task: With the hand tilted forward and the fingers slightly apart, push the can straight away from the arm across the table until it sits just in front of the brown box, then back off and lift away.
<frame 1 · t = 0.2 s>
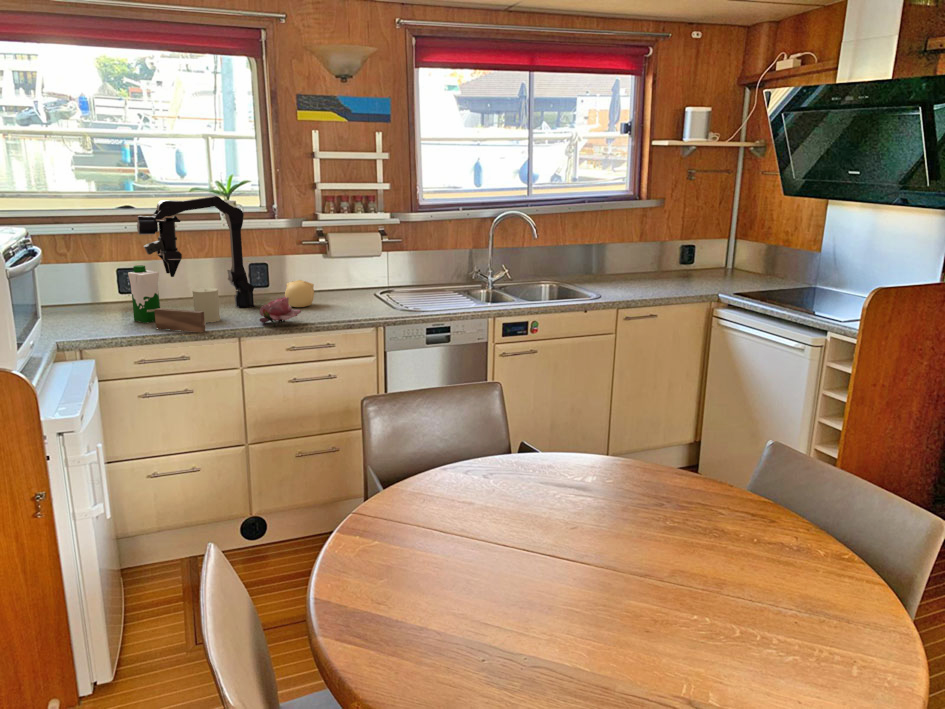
hand: (170, 275, 294), 15 cm above the table, tool pointing down, fingers open, 9 cm apart
flower: (280, 325, 281), on the table
milk carton: (148, 320, 284), on the table
can: (207, 320, 286), on the table
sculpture: (300, 306, 313), on the table
brown box: (180, 329, 270), on the table
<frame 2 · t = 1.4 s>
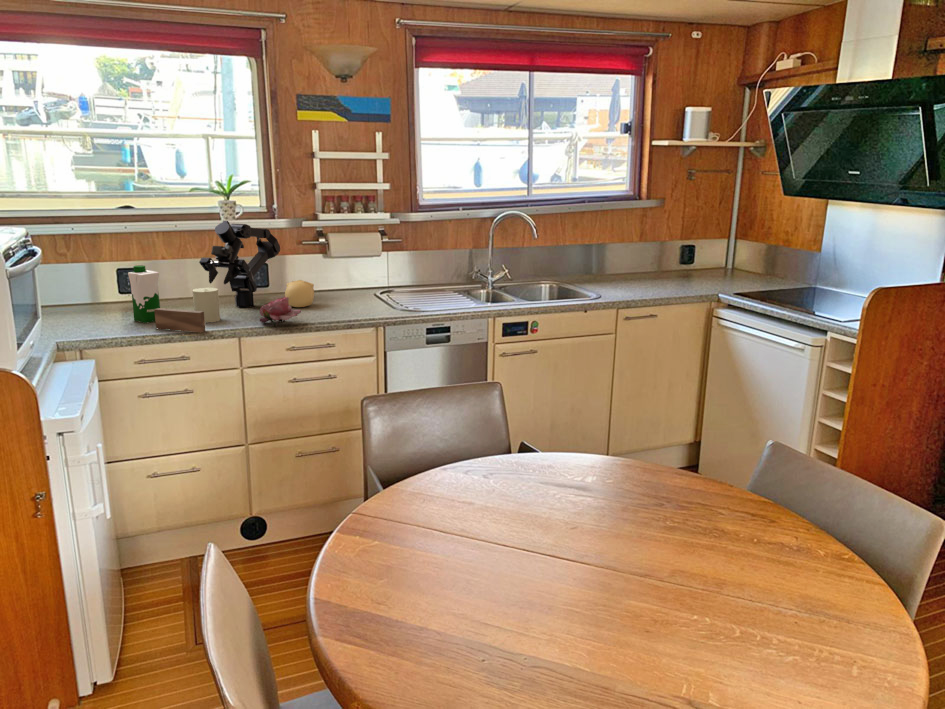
hand: (217, 283, 290), 13 cm above the table, tool tilted 45°, fingers open, 6 cm apart
nothing on the table moved.
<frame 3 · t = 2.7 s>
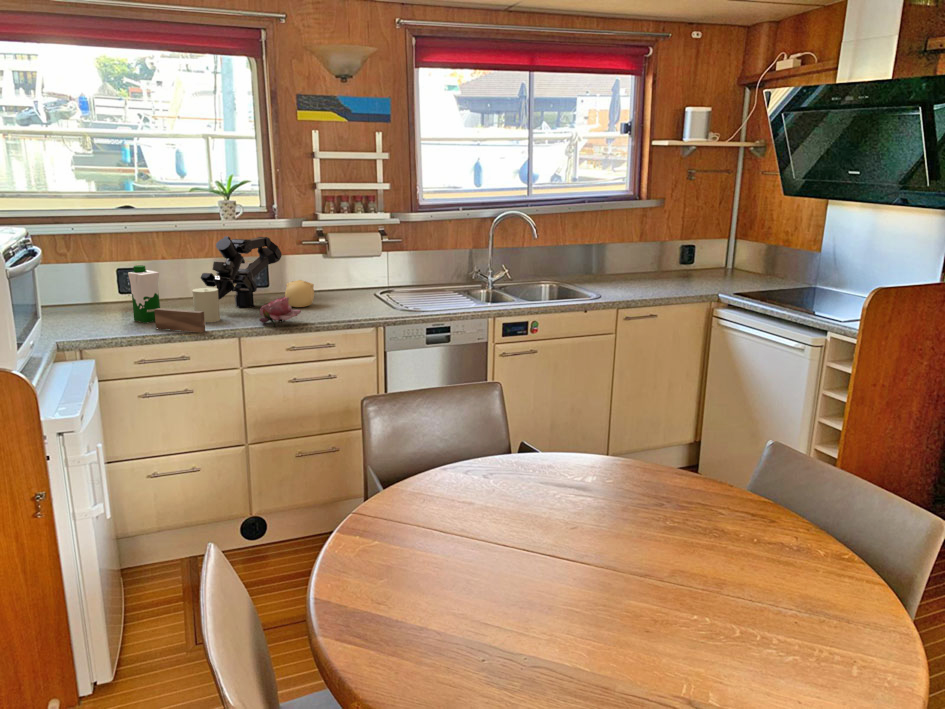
hand: (218, 298, 292), 7 cm above the table, tool tilted 45°, fingers closed
nothing on the table moved.
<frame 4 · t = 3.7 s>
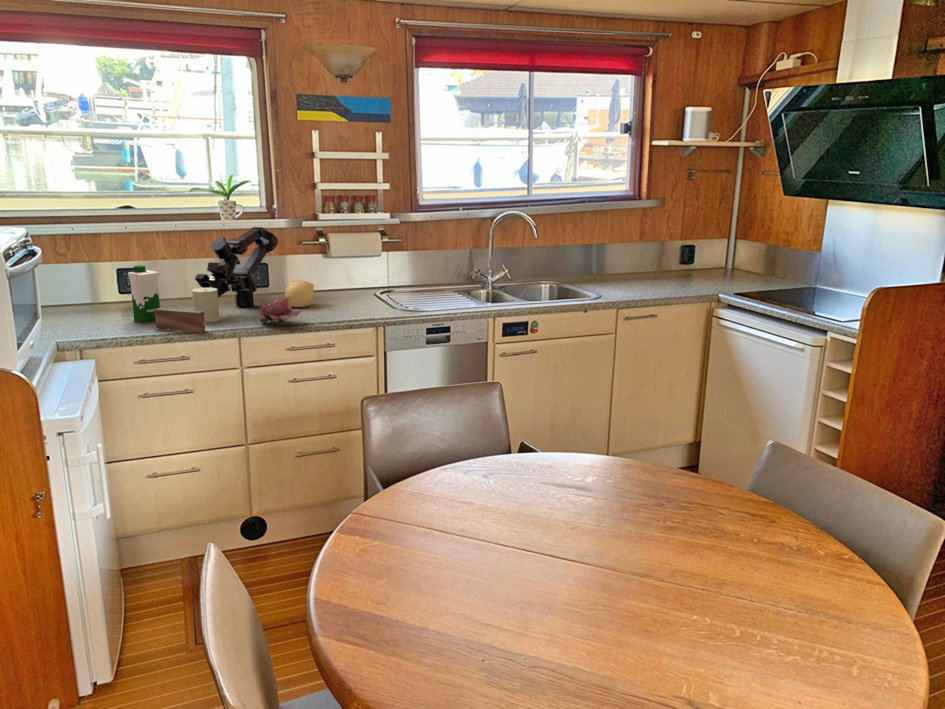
hand: (212, 299, 288), 7 cm above the table, tool tilted 45°, fingers closed, pressing on can
can: (207, 320, 286), on the table, touching gripper
everything else where it was.
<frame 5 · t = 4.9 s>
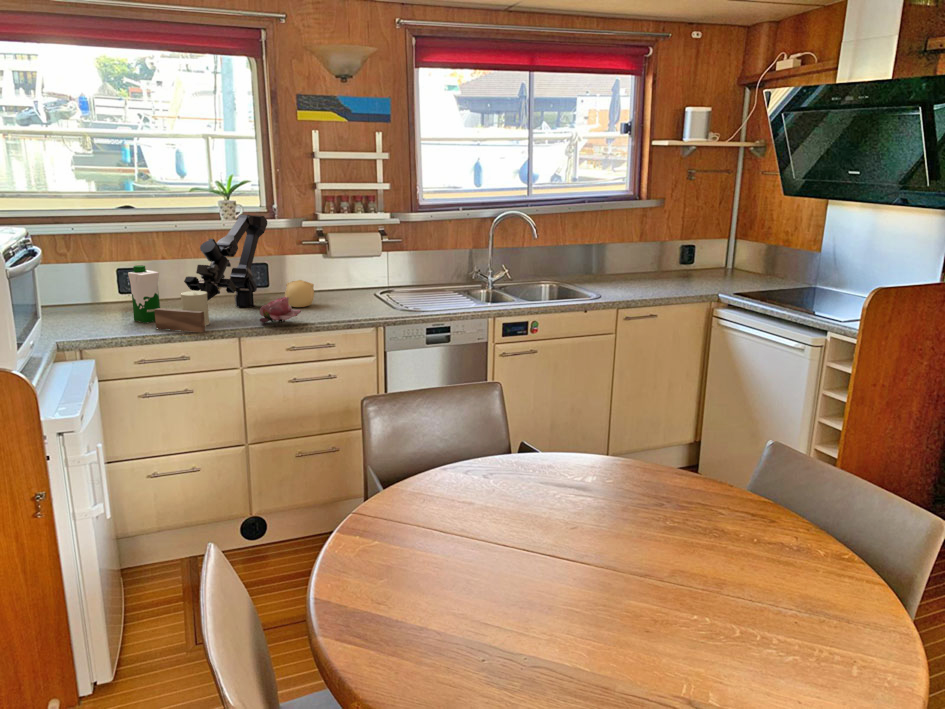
hand: (202, 303, 282), 7 cm above the table, tool tilted 45°, fingers closed, pressing on can
can: (196, 324, 279), on the table, touching gripper
everything else where it was.
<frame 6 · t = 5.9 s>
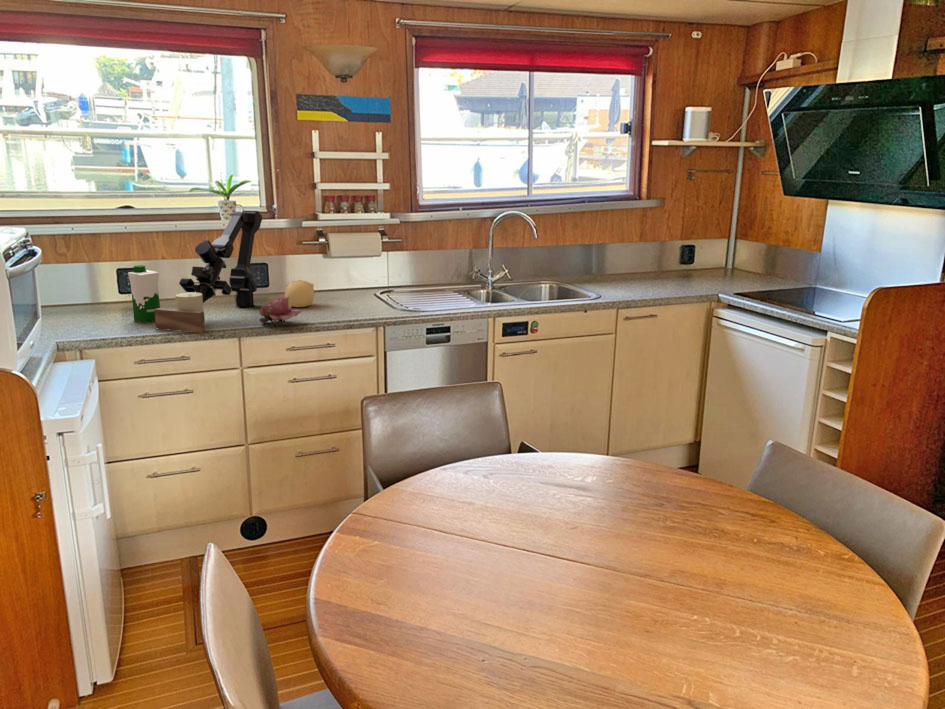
hand: (197, 305, 279), 7 cm above the table, tool tilted 45°, fingers closed, pressing on can
can: (191, 326, 277), on the table, touching gripper
everything else where it was.
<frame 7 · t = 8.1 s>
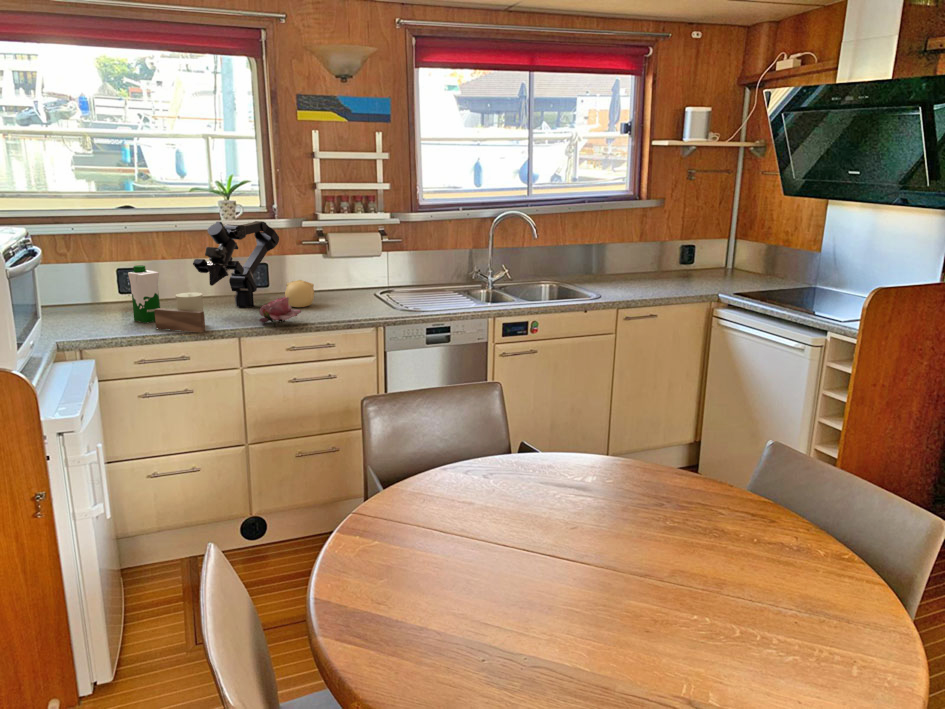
hand: (211, 284, 287), 13 cm above the table, tool tilted 45°, fingers closed
can: (191, 326, 277), on the table
everything else where it was.
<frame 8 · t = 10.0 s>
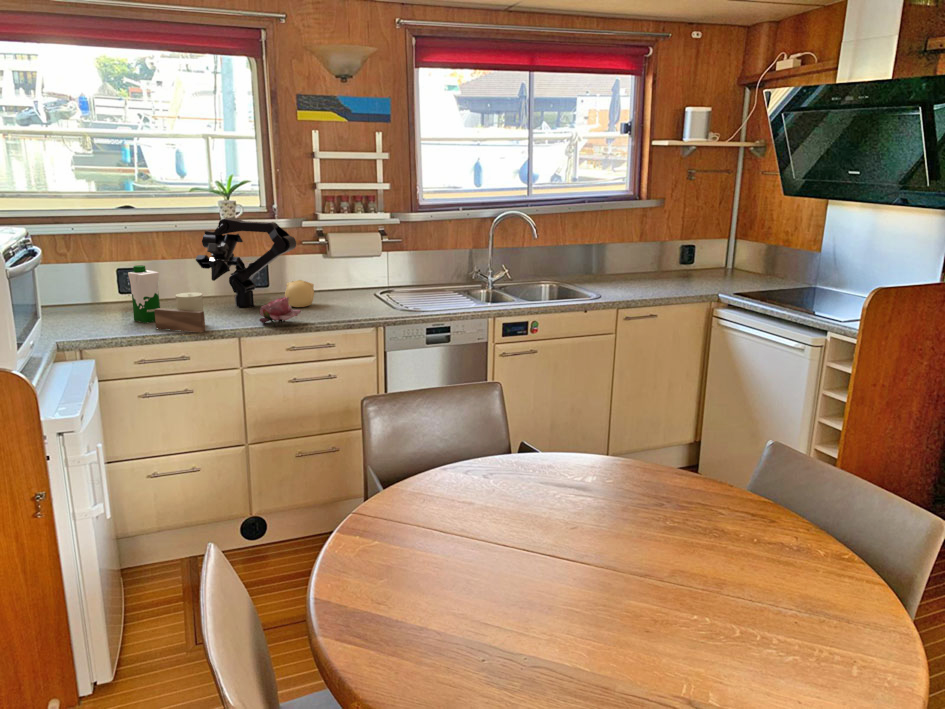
hand: (212, 280, 297), 13 cm above the table, tool tilted 45°, fingers closed
nothing on the table moved.
at the end: can inside the target area (1.1 cm from its centre), on the table; can tilted 0°; can moved 10.3 cm from its start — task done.
